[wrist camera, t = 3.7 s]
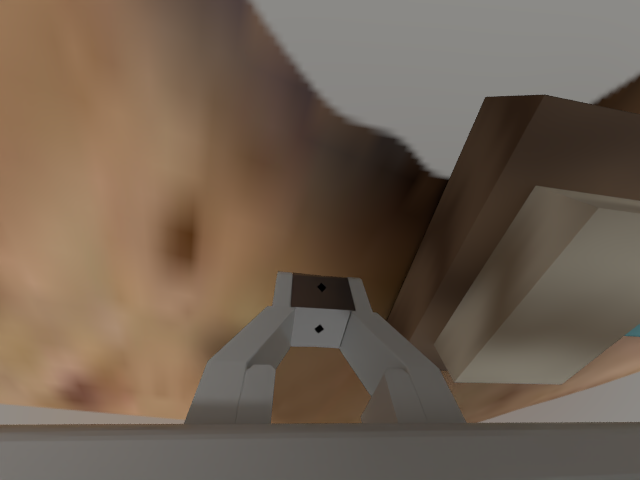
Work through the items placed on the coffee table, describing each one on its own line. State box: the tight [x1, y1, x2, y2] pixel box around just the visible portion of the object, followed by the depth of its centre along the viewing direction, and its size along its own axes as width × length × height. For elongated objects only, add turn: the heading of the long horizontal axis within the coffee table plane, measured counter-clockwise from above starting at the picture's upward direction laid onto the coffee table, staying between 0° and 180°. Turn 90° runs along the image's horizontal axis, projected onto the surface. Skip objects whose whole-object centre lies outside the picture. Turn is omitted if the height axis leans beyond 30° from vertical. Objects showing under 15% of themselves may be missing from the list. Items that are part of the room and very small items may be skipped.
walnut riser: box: [387, 95, 640, 371], centre depth 12 cm, size 14×11×2 cm
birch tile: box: [434, 186, 640, 384], centre depth 10 cm, size 9×6×2 cm, turn 171°
